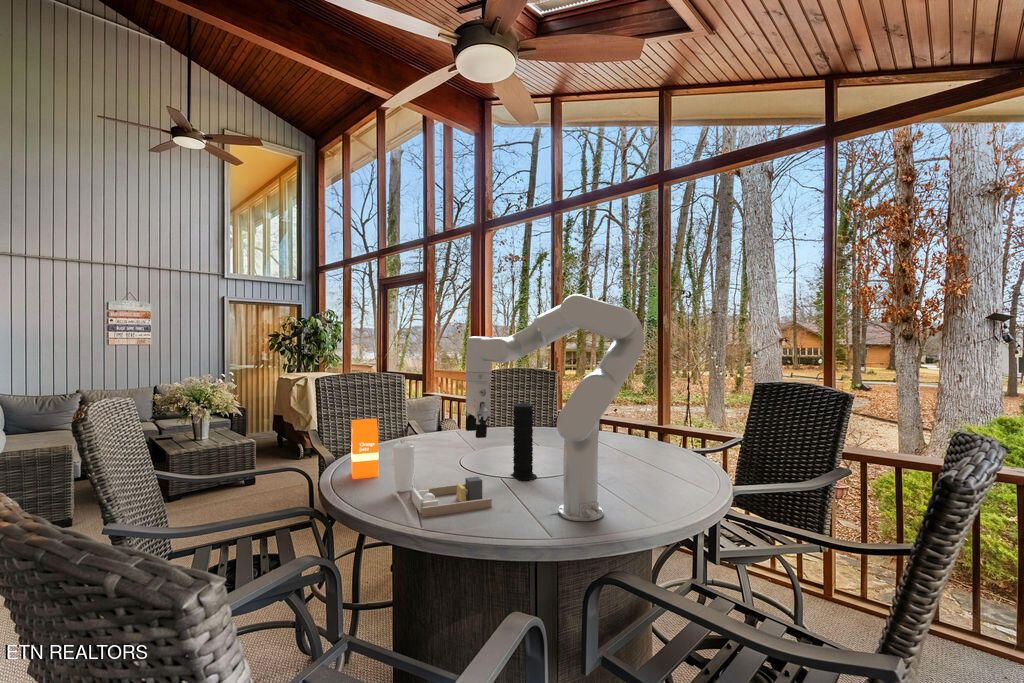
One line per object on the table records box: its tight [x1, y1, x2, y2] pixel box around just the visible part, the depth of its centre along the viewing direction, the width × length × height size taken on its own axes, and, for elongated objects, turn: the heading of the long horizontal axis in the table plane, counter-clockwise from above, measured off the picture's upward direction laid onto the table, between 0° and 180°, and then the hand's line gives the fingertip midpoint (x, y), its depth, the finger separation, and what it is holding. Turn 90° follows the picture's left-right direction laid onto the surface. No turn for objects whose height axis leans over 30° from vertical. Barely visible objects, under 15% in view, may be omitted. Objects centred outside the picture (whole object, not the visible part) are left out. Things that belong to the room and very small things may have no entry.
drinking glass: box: [392, 442, 415, 494], centre depth 162 cm, size 7×7×15 cm
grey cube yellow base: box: [456, 476, 483, 502], centre depth 152 cm, size 5×7×6 cm
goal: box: [411, 487, 439, 514], centre depth 146 cm, size 11×5×4 cm, turn 23°
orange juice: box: [350, 418, 380, 480], centre depth 181 cm, size 8×9×20 cm
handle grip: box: [510, 402, 538, 482], centre depth 178 cm, size 10×26×10 cm
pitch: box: [409, 483, 493, 518], centre depth 149 cm, size 17×20×3 cm
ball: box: [423, 493, 436, 502], centre depth 147 cm, size 4×4×4 cm
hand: (475, 434), depth 153 cm, fingers open, 9 cm apart
